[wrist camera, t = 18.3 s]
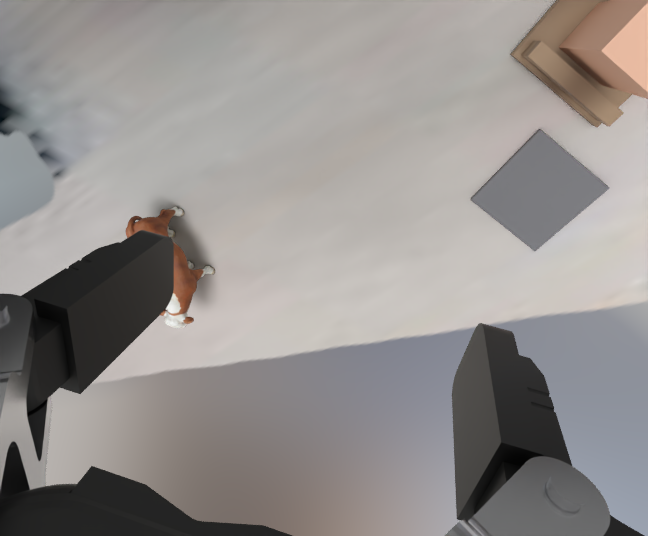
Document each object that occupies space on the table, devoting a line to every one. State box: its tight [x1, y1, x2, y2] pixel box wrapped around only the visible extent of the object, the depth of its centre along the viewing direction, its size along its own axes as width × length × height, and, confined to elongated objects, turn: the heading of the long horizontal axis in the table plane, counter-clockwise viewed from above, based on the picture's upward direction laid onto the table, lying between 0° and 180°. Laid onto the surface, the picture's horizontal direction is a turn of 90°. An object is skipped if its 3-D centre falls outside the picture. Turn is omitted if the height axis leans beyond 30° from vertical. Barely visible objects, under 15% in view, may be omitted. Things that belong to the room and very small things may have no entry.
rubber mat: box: [471, 129, 609, 251], centre depth 39 cm, size 8×8×1 cm
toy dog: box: [126, 207, 215, 328], centre depth 48 cm, size 4×13×8 cm, turn 17°
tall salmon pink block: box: [559, 0, 648, 99], centre depth 28 cm, size 4×4×10 cm
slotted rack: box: [511, 0, 632, 127], centre depth 31 cm, size 9×8×4 cm
